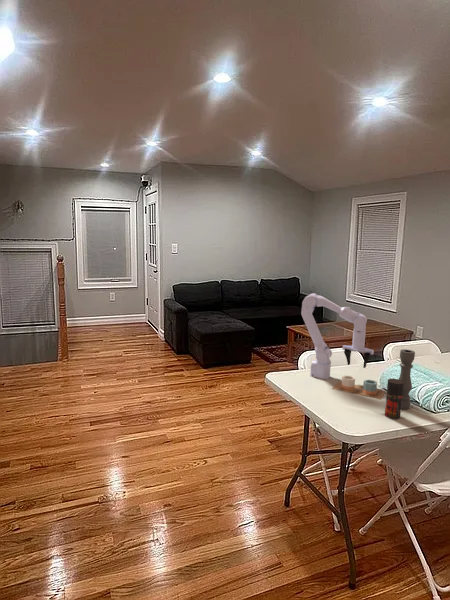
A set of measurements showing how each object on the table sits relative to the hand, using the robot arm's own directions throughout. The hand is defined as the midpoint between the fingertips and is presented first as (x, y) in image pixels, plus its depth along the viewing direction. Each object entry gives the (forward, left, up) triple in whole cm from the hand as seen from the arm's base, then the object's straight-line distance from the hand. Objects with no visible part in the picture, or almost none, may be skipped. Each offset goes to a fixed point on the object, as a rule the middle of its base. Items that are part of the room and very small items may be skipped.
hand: (356, 365), depth 201 cm
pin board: (+4, -10, -9) cm, 14 cm away
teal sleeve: (+9, -10, -8) cm, 16 cm away
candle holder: (+24, -16, -10) cm, 30 cm away
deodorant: (+22, -28, -10) cm, 37 cm away
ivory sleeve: (-1, -10, -8) cm, 13 cm away
